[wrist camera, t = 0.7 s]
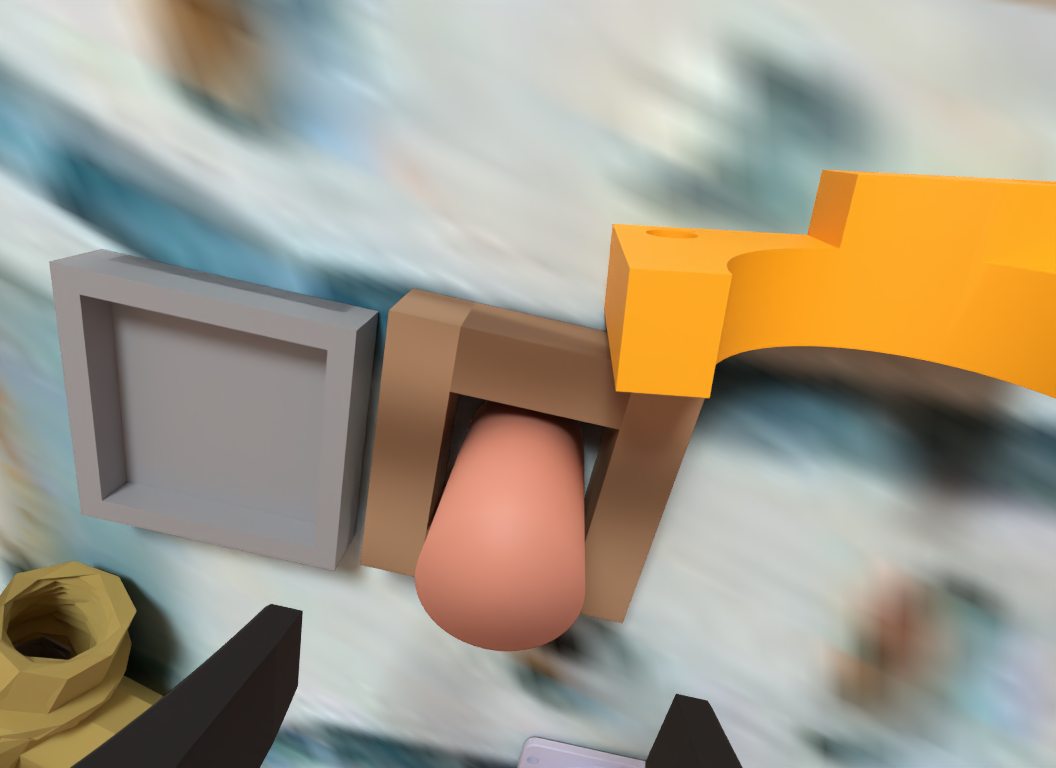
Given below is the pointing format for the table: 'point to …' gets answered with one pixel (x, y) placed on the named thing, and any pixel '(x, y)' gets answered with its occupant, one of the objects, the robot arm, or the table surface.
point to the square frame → (532, 383)
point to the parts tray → (214, 405)
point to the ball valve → (64, 665)
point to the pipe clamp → (847, 283)
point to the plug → (509, 532)
